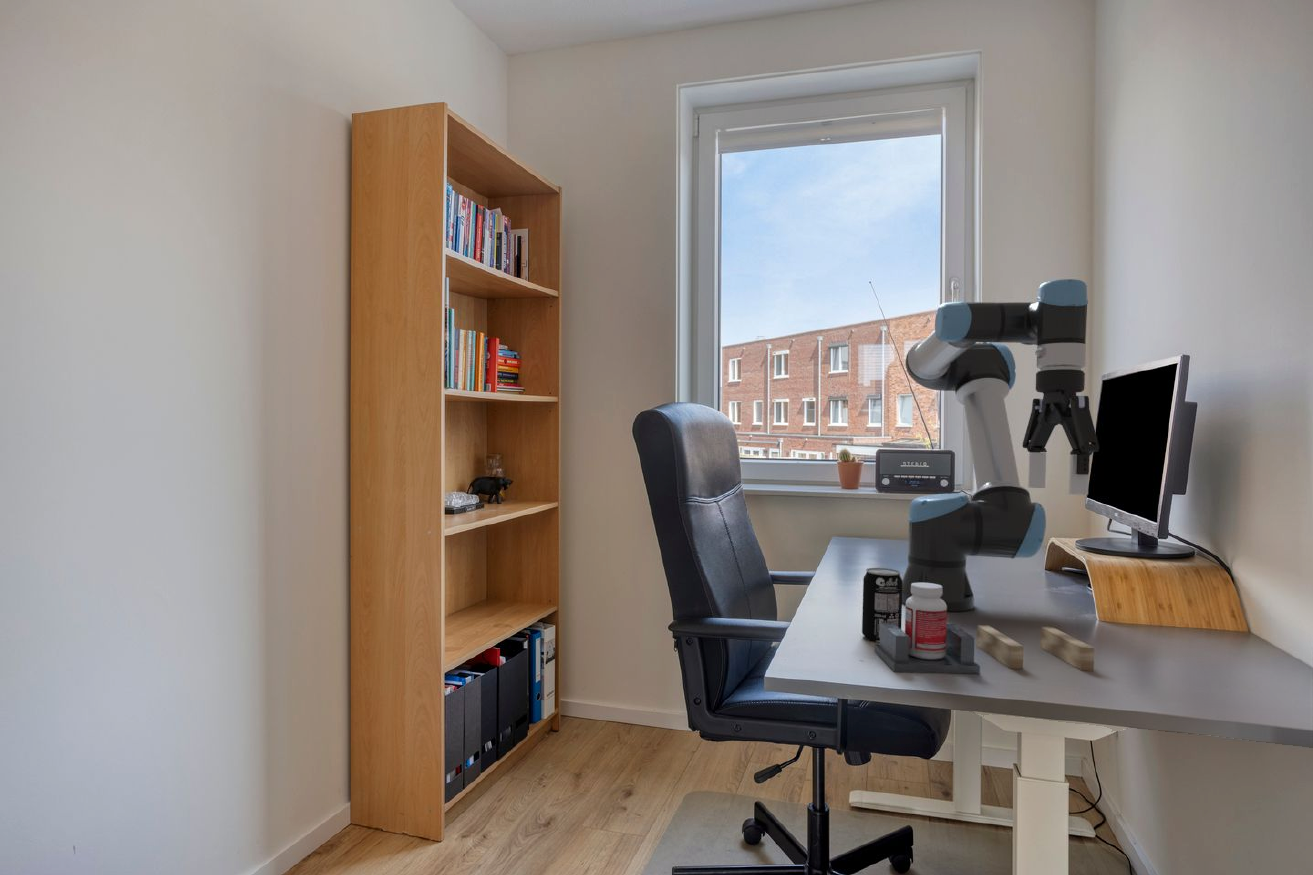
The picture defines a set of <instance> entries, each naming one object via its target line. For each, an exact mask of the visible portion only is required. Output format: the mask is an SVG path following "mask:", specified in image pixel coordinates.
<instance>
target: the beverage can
mask: <svg viewBox="0 0 1313 875" xmlns="http://www.w3.org/2000/svg"><path fill="white" fill-rule="evenodd" d="M865 572H866V573H865V575H864V576H863V578H862V579H863V581H862V582H863V583H862V616H861V617H862V618H861V620H862V623H861V633H862V635H863V636H864V638H865V639H866V640H867V641H870V642H874V643H879V644H880V622H893V623H894V624H895V625H896V626H897V627H899V628H900V629H901V630H902V618H903V617H902V615H903V614H902V613H903V612H902V610H903V603H902V583H903V581H902V579H903V578H902V577H901V572H900V571H899V570H897V569H893V568H886V567H869V568H866V571H865Z"/></svg>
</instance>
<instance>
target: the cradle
mask: <svg viewBox="0 0 1313 875" xmlns="http://www.w3.org/2000/svg"><path fill="white" fill-rule="evenodd" d="M874 653H875V654H876V655H877V656H878V657H879V658H880V659H881V660H882V662H884V663H885V664H886V665H887V666H888V667H889V668H890V670H891V671H893V672H894V673H923V674H924V673H929V674H930V673H931V674H962V675H963V674H964V675H965V674H967V675H980V674H981V673H980V672H981V669H980V668H981V666H980V665H979V664H978V663H977V662H975V637H974V636H972V635H971V634H969V633H968V632H966V631H965V630H964V629H963V628H961V627H959V626H958V625H956V624H954V623H947V627H946V655H945V657H943V658H941V659H921V658H917V657H914V656H911V655H909V636H908V635H907V634H906V633H905V631H904V630H902V628H901V629H900V628H899V627H897V626H896V625H895V624H894V623H893V622H880V643H879V644H874Z"/></svg>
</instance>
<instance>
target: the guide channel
mask: <svg viewBox="0 0 1313 875" xmlns="http://www.w3.org/2000/svg"><path fill="white" fill-rule="evenodd" d="M976 626H977V628H976V646H977V647H978V648H979V649H981V650H982V651H984V652H985V653H986V654H987V655H990V656H991V657H992V658H994V659H995V660H997V662H1000V663H1001V664H1003V665H1004V666H1005V667H1006V668H1008V669H1014V670H1015V669H1017V670H1021V669H1024V645H1022V644H1020V643H1019V642H1017V641H1015V640H1014V639H1012V638H1010V637H1008V636H1007V635H1005V634H1003V633H1002V632H1001V631H998V630H997V629H995V628H993V627H992V626H990V625H976ZM1040 629H1041V632H1040V633H1041V634H1040V648H1041V649H1043V650H1045V651H1046V652H1048V653H1050V654H1052V655H1054V656H1055V657H1056V658H1059V659H1061V660H1062V661H1064V662H1066V663H1068V664H1069V665H1071V666H1073V667H1074V668H1076V669H1077V670H1080V671H1094V670H1095V669H1094V668H1095V665H1094V664H1095V648H1094V647H1093V646H1091V645H1089V644H1087V643H1085V642H1082V640H1080V639H1077V638H1076V637H1073V636H1072V635H1070V634H1067V633H1065V632H1063V631H1062V630H1060V629H1057V628H1056V627H1053V626H1041V627H1040Z"/></svg>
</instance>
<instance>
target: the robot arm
mask: <svg viewBox="0 0 1313 875" xmlns="http://www.w3.org/2000/svg"><path fill="white" fill-rule="evenodd" d="M1087 287H1088V286H1087V284H1086V282H1085V281H1083V280H1082V279H1081V280H1080V279H1075V278H1072V279H1071V278H1068V279H1067V278H1066V279H1065V278H1064V279H1062V278H1061V279H1054V280H1049V281H1046V282H1043V283H1041V284H1040V286H1039V288H1038V292H1037V293H1038V294H1037V298H1036V300H1037V301H1035V302H1029V301H1028V302H1021V301H1020V302H1017V301H1016V302H1012V301H1011V302H989V301H988V302H985V301H984V302H983V301H982V302H978V301H976V302H975V301H973V302H972V301H955V302H954V301H953V302H944V303H941V304H940V305H939V306H938V308H937V312H936V313H935V318H934V319H935V320H934V329H933V331H932V332H931V333H930V334H929V335H928V336H927V337H926V338H925V339H921V340H919V341H917V342H916V343H914V344H913V345H912V347H911V348H910V349H909V350H908V351H907V353H906V356H905V357H906V358H905V368H906V371H907V374H908V375H909V377H910V378H911V379H912V380H913V381H915V383H917V384H918V385H920V386H921V387H924V388H926V389H929V390H933V391H941V392H942V391H943V392H947V391H948V392H955V397H956V400H957V401H958V402H959V403H960V404H961V405H963V406H964V411H965V413H964V414H965V418H966V426H967V431H968V432H967V433H968V438H969V444H970V445H969V446H970V451H971V458H972V463H973V465H972V466H973V471H974V477H975V484H976V491H975V492H974V493H973V495H972V496H971V499H969V496H968V495H967V494H965V493H938V494H927V495H921V496H918V497H915V498H914V499H912V501H911V502H910V504H909V505H910V506H909V513H908V518H907V521H908V540H907V541H908V544H907V545H908V546H907V547H908V548H907V551H908V552H907V553H908V554H907V567H906V569H905V571H904V575H903V577H902V578H901V579H902V581H903V583H902V605H903V604H904V605H906V600H907V599H908V598H909V597H912V593H911V584H912V583H933V584H938V585H941V586H942V592H943V594H942V596H940V598H941V599H942V600H943V601H944V602H945V603H946V605H947V612H964V611H970V610H972V609H974V608H975V596H974V591H973V589H972V586H971V582H970V580H969V575H968V573H967V557H987V558H989V557H990V558H1004V559H1005V558H1007V559H1008V558H1009V559H1012V560H1013V559H1017V558H1018V559H1023V558H1025V559H1027V558H1029V559H1030V558H1032V557H1034V556H1036V555H1037V554H1038V553H1039V552H1040V550H1041V548H1042V545H1043V543H1044V539H1045V534H1046V527H1047V518H1046V511H1045V508H1044V506H1043V505H1042V503H1039V502H1036V501H1035V502H1032V499H1031V495H1030V492H1029V490H1028V489H1027V488H1025V487H1023V486H1021V483H1020V478H1019V473H1018V468H1017V462H1016V457H1015V452H1014V446H1013V440H1012V435H1011V430H1010V424H1009V420H1008V412H1007V409H1006V403H1005V399H1006V398H1007V397H1008V395H1009V393H1010V391H1011V390H1012V389H1013V387H1014V384H1015V381H1016V375H1017V374H1016V369H1017V368H1016V361H1015V358H1014V355H1013V353H1012V351H1011V350H1010V348H1009V347H1008V346H1007V345H1005V344H1002V343H1016V344H1017V343H1019V344H1021V345H1025V346H1032V345H1035V346H1036V350H1035V355H1036V368H1037V369H1040V370H1038V371H1037V372H1036V373H1035V391H1036V392H1037V393H1042V394H1043V395H1042V396H1043V397H1042V398H1033V399H1032V406H1031V413H1030V416H1029V419H1028V423H1027V428H1026V431H1025V433H1024V438H1023V440H1022V444H1021V445H1022V447H1023V448H1022V449H1026V450H1027V452H1029V453H1028V454H1029V456H1028V458H1029V460H1028V483H1027V484H1028V486H1027V487H1028V488H1030V489H1031V488H1032V489H1045V488H1046V472H1047V470H1046V467H1047V449H1046V446H1047V444H1048V442H1049V440H1050V438H1051V436H1052V433H1053V431H1054V429H1055V427H1056V426H1058V425H1060V426H1062V429H1063V430H1064V433H1065V436H1066V438H1067V440H1068V442H1069V444H1070V446H1071V449H1072V450H1071V451H1070V453H1069V455H1070V456H1069V457H1070V459H1069V483H1068V484H1069V488H1068V490H1069V491H1068V493H1069V495H1080V496H1081V495H1083V496H1084V495H1087V496H1088V495H1089V478H1090V476H1089V473H1090V457H1091V456H1092V455H1093V453H1094V452H1095V453H1096V452H1099V450H1100V444H1099V440H1098V437H1097V433H1096V429H1095V425H1094V421H1093V418H1092V414H1091V410H1090V398H1089V397H1090V396H1088V395H1077V393H1082V392H1084V391H1085V382H1086V381H1085V380H1086V379H1085V378H1086V373H1085V372H1084V370H1082V369H1084V368H1085V366H1086V355H1087V353H1086V351H1087V350H1086V349H1087V348H1086V347H1087V343H1086V342H1087V341H1086V339H1087V318H1088V317H1087V315H1088V304H1089V300H1088V288H1087Z"/></svg>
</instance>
